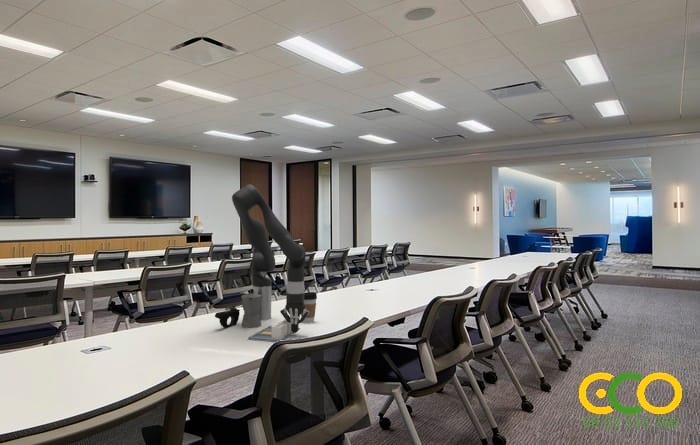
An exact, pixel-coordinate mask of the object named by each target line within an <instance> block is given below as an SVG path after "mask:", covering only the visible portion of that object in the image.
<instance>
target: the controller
mask: <svg viewBox="0 0 700 445" xmlns="http://www.w3.org/2000/svg"><path fill="white" fill-rule="evenodd" d="M236 306H237V305H236V304H231V308H230V309H226V310H224V311H217V312H216V313H214V314H215V315H214V318H215V319H219V324H220V326H221V327H223V328H225V329H229V328H231V327H234V326H236V325H237V323H238V322H239V319H240V311H241V309H238V308H236ZM229 318H230V322H229V324H228V320H229Z"/></svg>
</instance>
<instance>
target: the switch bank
mask: <svg viewBox="0 0 700 445" xmlns="http://www.w3.org/2000/svg"><path fill="white" fill-rule="evenodd" d="M272 326H273V325H268V326H266V327H265V328H263V329H261V330H260V331H257V332H255V333H254V334H252V335H250V336H249V337H248V338H247V339H246V341H256V342H267V343H278V342H277V341H280V340H284V341H285V340H286V339H288V338H289V337H291V336H292V335H294V334H295V333H292V331H290V334H288V335H285V337H284V338H283V339H273V338H272ZM299 330H301V328H300V327H298V331H299Z"/></svg>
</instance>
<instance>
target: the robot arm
mask: <svg viewBox="0 0 700 445" xmlns="http://www.w3.org/2000/svg"><path fill="white" fill-rule="evenodd" d="M231 200H232V203H233V206H234V208H235V211H236V213H237V216H238V217H239V219H240V220H239V221H240V223H241V225H242V228H243V231H244V234H245V237H246V241H247V242H248V244H249V245H250V246H251V247H253V249H255V250H257V251H258V252H255V253H253V255H252V257H251V258H252V259H251V276H252V277H251V279H252V280H251V281H252V288H251V289H254V292H255V294H260V295H262V302H261V308H260V310H259V314H260V319H261V322H262V321H266V320H271V319H272V283H273V282H272V279H270V278H268V277H266V276H264V275H263V274H262V273H271V272H273V271H274V270H275V268H276V258H275V255H274V252H273V250H272V248H271V246H270V243H269V239H268V235H269V237H270V238H271V239H272V240H273V242H275V244H277V245H278V247H279V248H280V250H281V251H282V253H283V254H284V256H285V257H286V258H287V259H288V260H289V267H288V269H287V275H286V276H287V278H286V279H287V280H286V291H285V292H286V297H285V298H286V300H285V307H283V309H281V310H280V314H281V315H282V317H283V318H284V319H285V320H286V321H287V322H289V323H291V331H292V333H294V334H297V333H298V331H299V330H298V328H300V327H299V325H300V324H301V323H303V321H304V319H305V318H306V317H307V316H308V314H309V313H310V311H307V310H306V309H305V305H304V293H305V290H306V289H305V264H306V254H307V252H306V248H305V247H304V245H302V244H299V243H297V242H296V241H295V240H294V239H293V238H292V234H291V233H290V232H289V230H288V229H287V228H286V227H285V226H284V225H283V223H281V221H280V220H279V219H278V218H277V216H276V214H275V213H274V212H273V210H272V209H271V207H270V206H269V204H268V203H267V201H266V200H265V198H264V197H263V195H262V194H261V192H260V191H259V190H258V188H256V186H255V185H253V184H251V183H250V184H246V185H245V186H243V187H242V188H239V189H238V190H237V191H235V192H234V193H233V194H232V196H231ZM255 206H258V207H259V209H260V210H261V212H262V217H263V222H261V220H259V219H258V218H255V217H253V216H251V215H250V213H249V211H250V210H251V209H252V208H254V207H255ZM267 234H268V235H267ZM303 311H304V312H303ZM302 312H303V314H304V315H303V316H302V318H301V313H302Z"/></svg>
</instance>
